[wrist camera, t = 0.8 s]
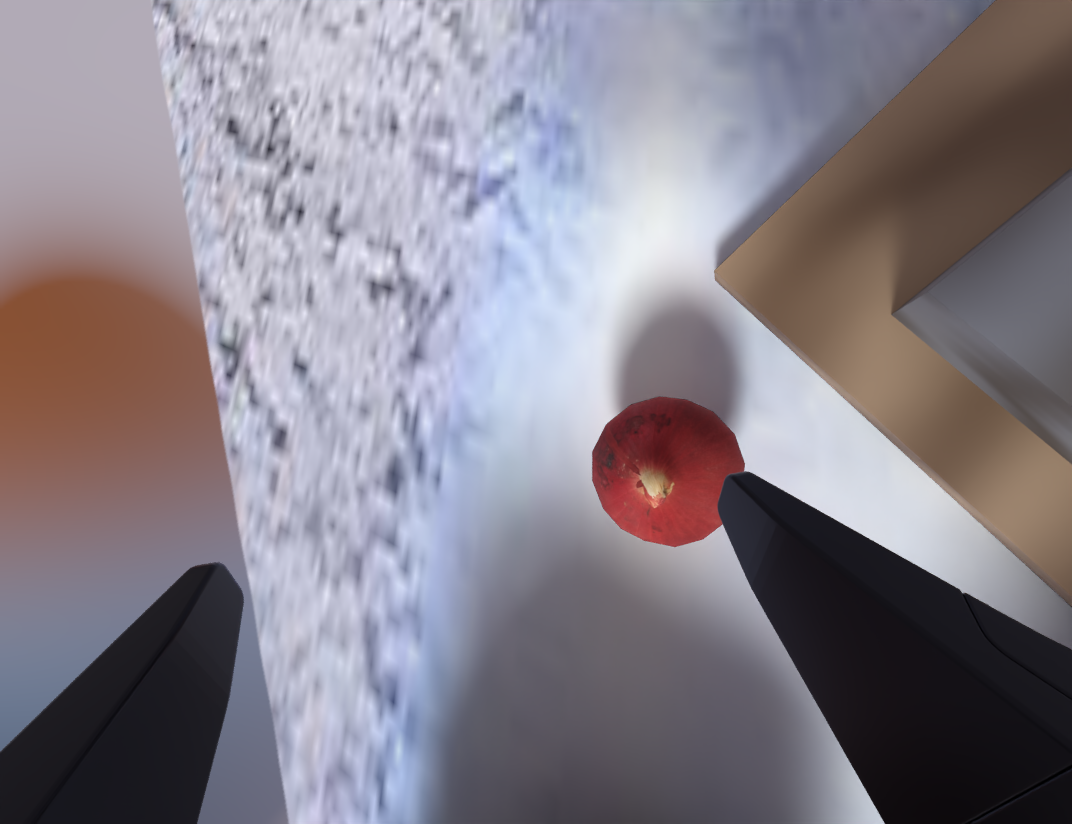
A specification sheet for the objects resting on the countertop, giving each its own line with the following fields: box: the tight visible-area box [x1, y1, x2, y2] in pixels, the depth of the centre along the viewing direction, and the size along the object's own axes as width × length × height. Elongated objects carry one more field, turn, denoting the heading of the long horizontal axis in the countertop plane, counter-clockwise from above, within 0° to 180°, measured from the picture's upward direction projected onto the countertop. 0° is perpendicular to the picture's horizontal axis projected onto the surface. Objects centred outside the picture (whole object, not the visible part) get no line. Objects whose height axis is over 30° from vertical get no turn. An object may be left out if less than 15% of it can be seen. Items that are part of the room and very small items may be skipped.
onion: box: [592, 397, 745, 547], centre depth 18 cm, size 6×6×8 cm
